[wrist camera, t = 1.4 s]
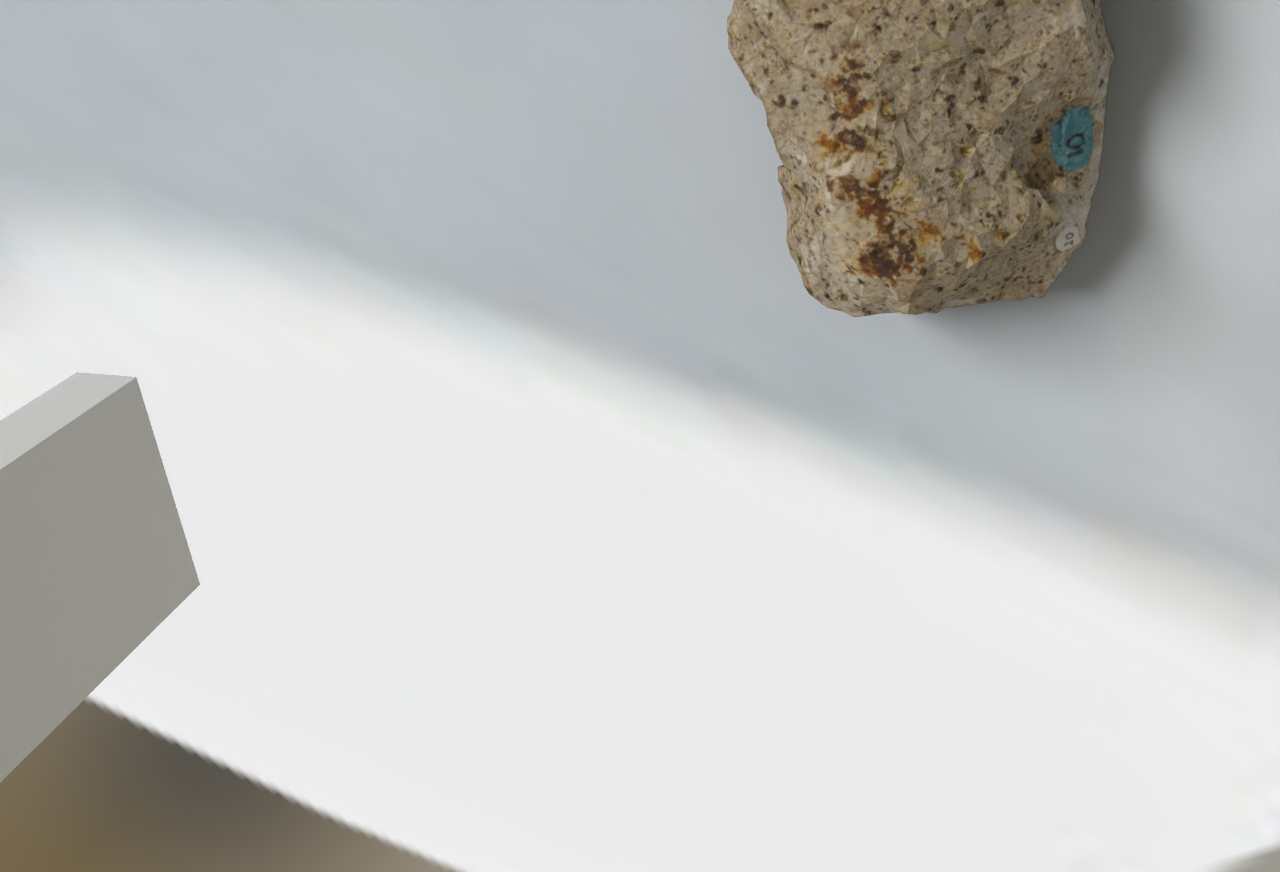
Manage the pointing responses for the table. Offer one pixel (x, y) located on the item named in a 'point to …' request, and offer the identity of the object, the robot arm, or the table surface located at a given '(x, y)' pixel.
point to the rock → (929, 142)
